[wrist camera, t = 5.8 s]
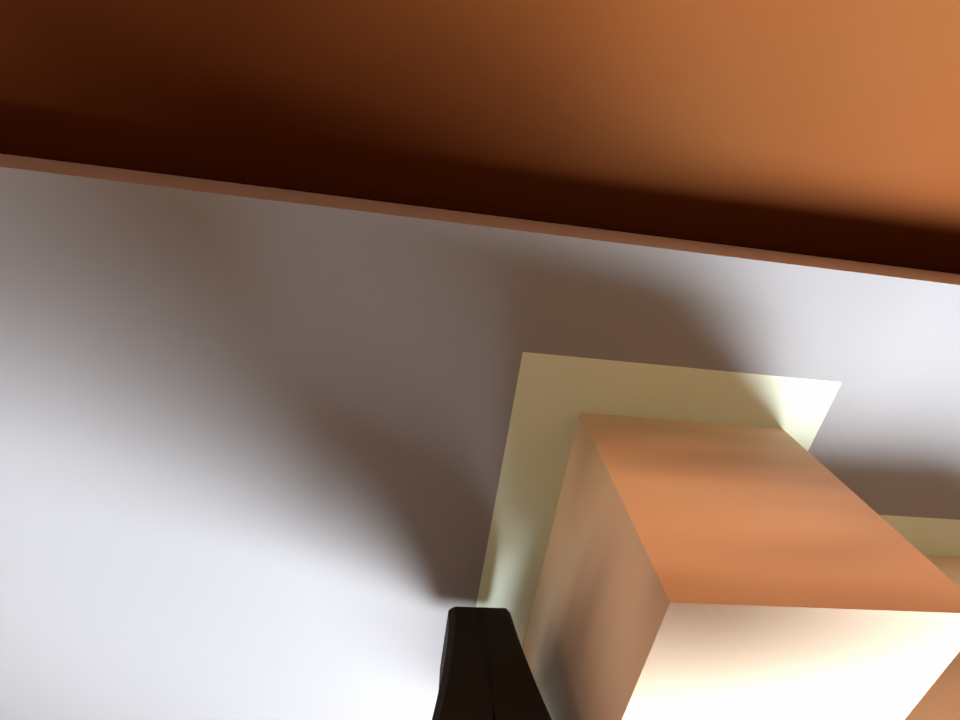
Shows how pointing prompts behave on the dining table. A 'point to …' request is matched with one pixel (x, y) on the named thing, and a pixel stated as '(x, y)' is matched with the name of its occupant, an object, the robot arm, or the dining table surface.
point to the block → (732, 586)
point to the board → (379, 424)
